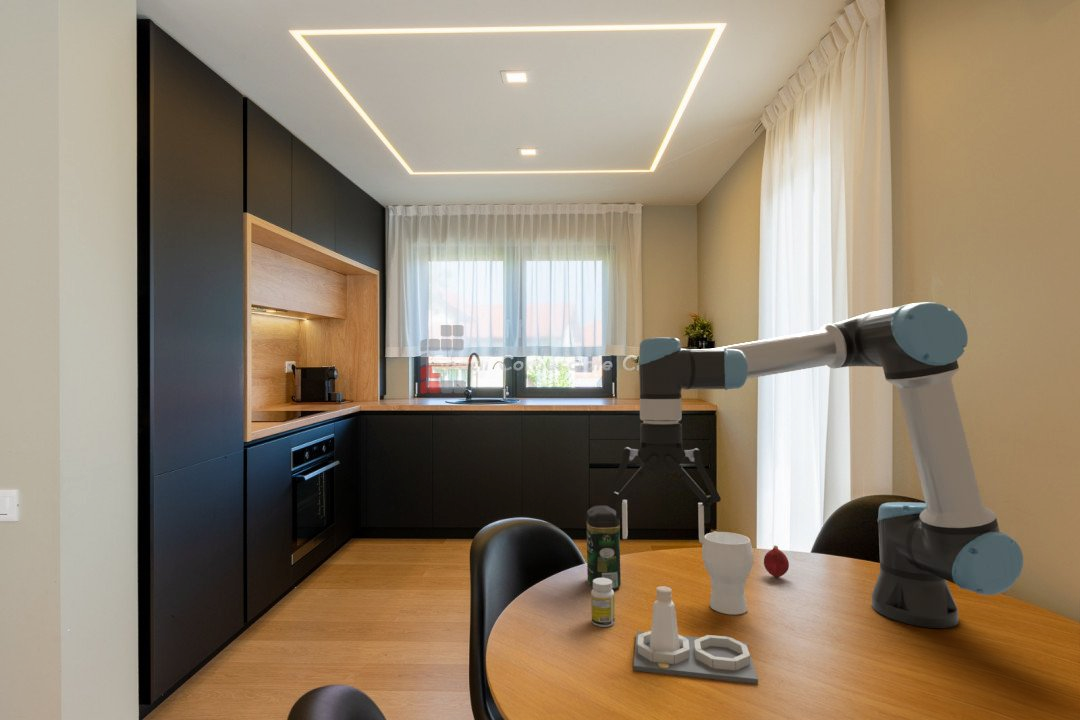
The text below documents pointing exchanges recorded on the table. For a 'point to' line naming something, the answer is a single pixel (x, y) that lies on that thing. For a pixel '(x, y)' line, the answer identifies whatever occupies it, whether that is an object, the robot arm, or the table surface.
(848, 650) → the table surface
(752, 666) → the collar board
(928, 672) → the table surface
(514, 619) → the table surface
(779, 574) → the onion
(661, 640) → the pepper shaker
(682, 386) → the robot arm
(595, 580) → the supplement bottle
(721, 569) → the cup
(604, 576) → the coffee jar
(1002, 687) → the table surface
